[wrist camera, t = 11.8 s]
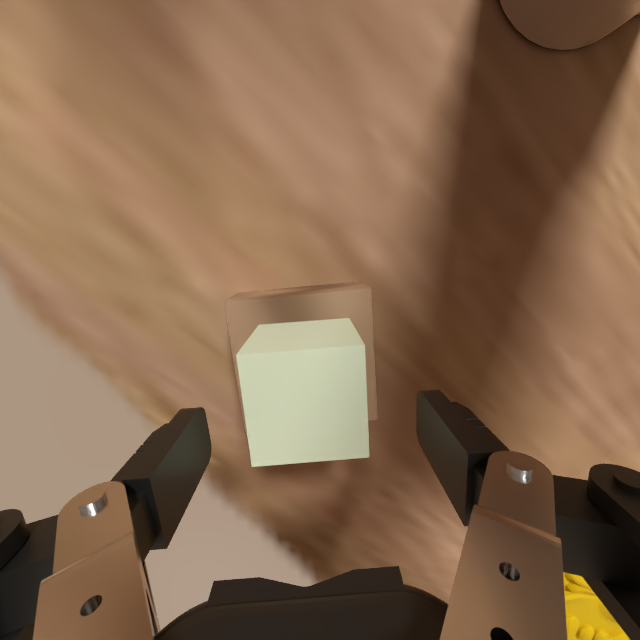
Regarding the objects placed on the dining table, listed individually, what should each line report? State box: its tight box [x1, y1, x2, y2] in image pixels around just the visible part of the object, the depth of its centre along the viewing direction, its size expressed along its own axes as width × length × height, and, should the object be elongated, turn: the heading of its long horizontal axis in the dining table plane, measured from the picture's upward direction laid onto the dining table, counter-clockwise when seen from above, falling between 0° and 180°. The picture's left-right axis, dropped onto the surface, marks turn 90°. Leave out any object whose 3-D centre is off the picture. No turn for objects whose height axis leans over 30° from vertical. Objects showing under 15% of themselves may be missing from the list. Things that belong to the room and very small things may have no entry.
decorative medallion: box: [563, 572, 630, 640], centre depth 27 cm, size 24×24×2 cm
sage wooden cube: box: [236, 318, 369, 467], centre depth 14 cm, size 5×5×5 cm
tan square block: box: [224, 282, 378, 433], centre depth 19 cm, size 8×8×4 cm
